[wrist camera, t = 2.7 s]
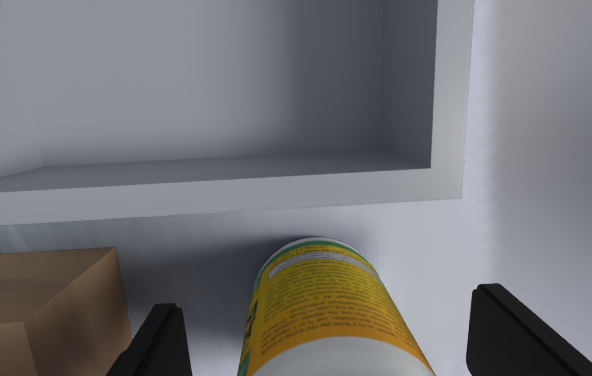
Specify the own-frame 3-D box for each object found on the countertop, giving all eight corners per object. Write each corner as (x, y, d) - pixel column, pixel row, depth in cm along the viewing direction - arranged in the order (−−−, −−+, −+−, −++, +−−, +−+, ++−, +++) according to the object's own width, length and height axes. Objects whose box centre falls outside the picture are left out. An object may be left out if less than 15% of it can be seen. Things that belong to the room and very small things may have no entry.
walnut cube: (135, 352, 15) (63, 471, 10) (19, 360, 15) (-111, 484, 10) (116, 246, 14) (23, 321, 9) (-10, 253, 14) (-174, 334, 9)
